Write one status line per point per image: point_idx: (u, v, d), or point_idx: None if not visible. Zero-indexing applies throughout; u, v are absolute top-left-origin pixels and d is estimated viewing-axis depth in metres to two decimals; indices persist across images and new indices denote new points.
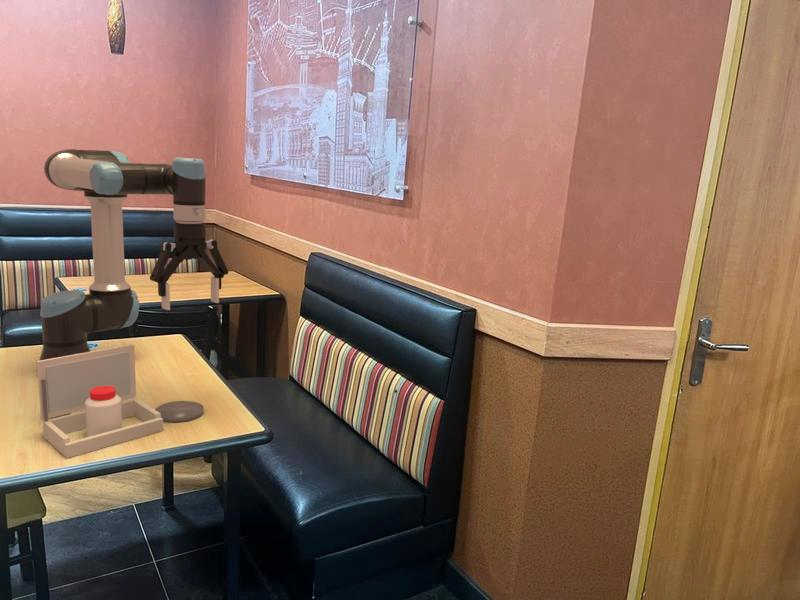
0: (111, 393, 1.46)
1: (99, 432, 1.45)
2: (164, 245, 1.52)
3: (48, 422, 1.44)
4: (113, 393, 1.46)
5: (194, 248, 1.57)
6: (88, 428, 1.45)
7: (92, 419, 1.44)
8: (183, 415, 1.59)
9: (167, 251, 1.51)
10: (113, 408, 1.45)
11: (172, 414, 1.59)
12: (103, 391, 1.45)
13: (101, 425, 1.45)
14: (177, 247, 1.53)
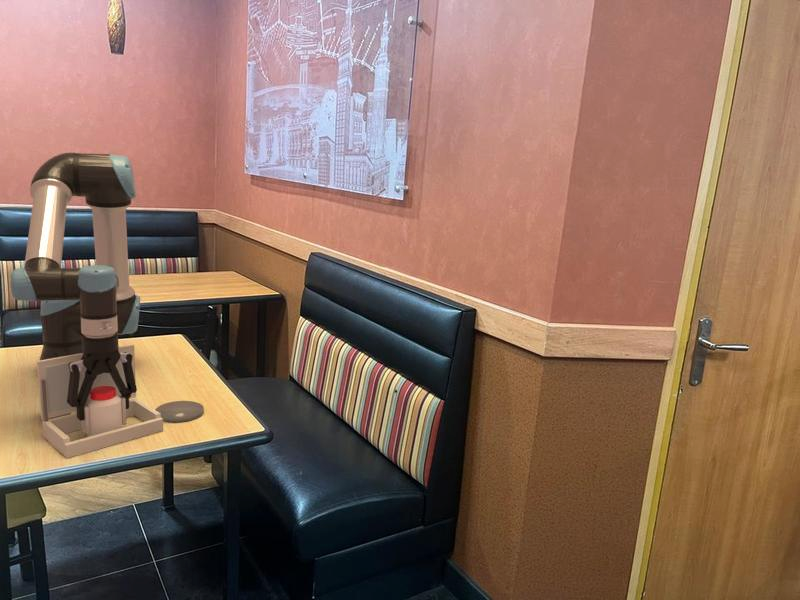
0: (111, 393, 1.46)
1: (99, 432, 1.45)
2: (70, 367, 1.40)
3: (48, 422, 1.44)
4: (113, 393, 1.46)
5: (105, 361, 1.45)
6: None
7: (92, 418, 1.44)
8: (183, 415, 1.59)
9: (75, 373, 1.40)
10: (113, 408, 1.45)
11: (172, 414, 1.59)
12: (103, 391, 1.45)
13: (101, 425, 1.45)
14: (85, 364, 1.42)
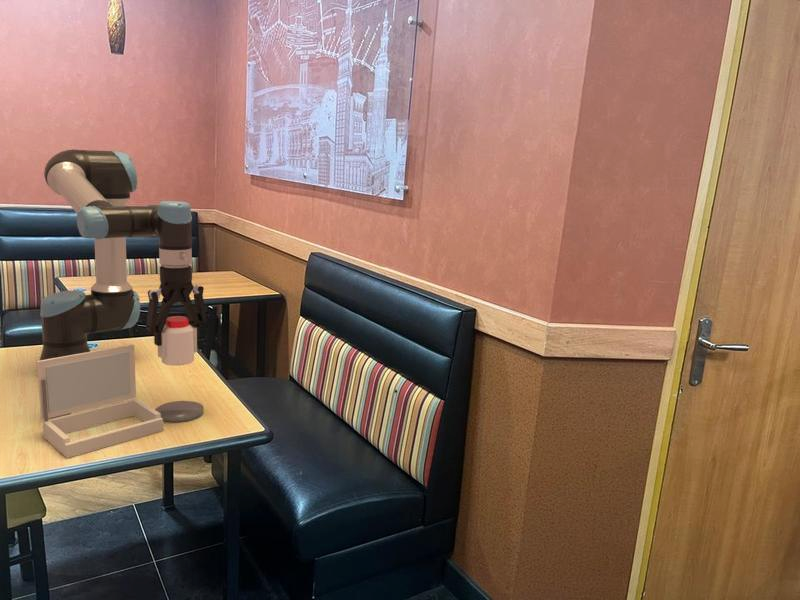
0: (185, 321, 1.56)
1: (174, 357, 1.55)
2: (150, 294, 1.51)
3: (48, 422, 1.44)
4: (187, 321, 1.57)
5: (180, 290, 1.55)
6: None
7: (168, 344, 1.55)
8: (183, 415, 1.59)
9: (154, 300, 1.51)
10: (187, 335, 1.56)
11: (172, 414, 1.59)
12: (178, 320, 1.56)
13: (177, 351, 1.55)
14: (163, 292, 1.52)
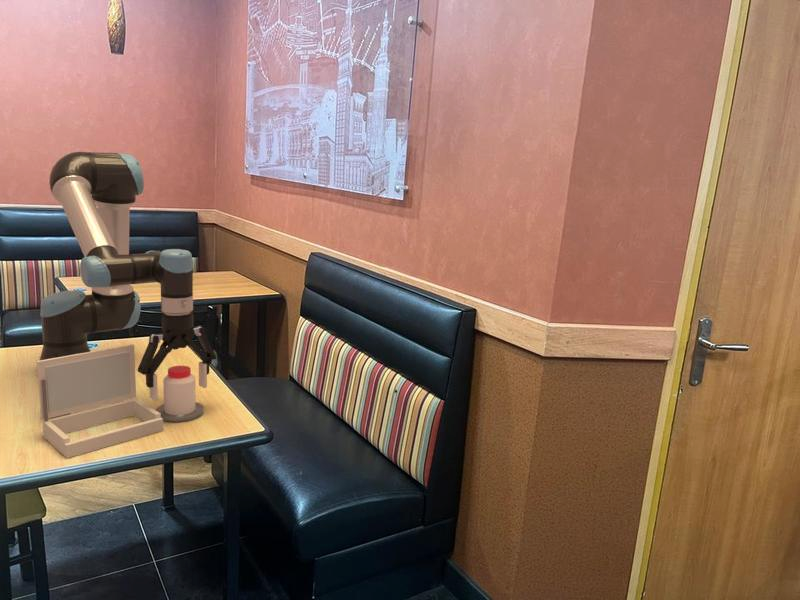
0: (187, 372, 1.59)
1: (176, 407, 1.59)
2: (151, 337, 1.53)
3: (48, 422, 1.44)
4: (189, 372, 1.60)
5: (182, 337, 1.58)
6: (166, 403, 1.59)
7: (170, 395, 1.58)
8: (183, 415, 1.59)
9: (154, 344, 1.53)
10: (189, 385, 1.59)
11: None
12: (180, 370, 1.59)
13: (179, 401, 1.58)
14: (165, 338, 1.55)
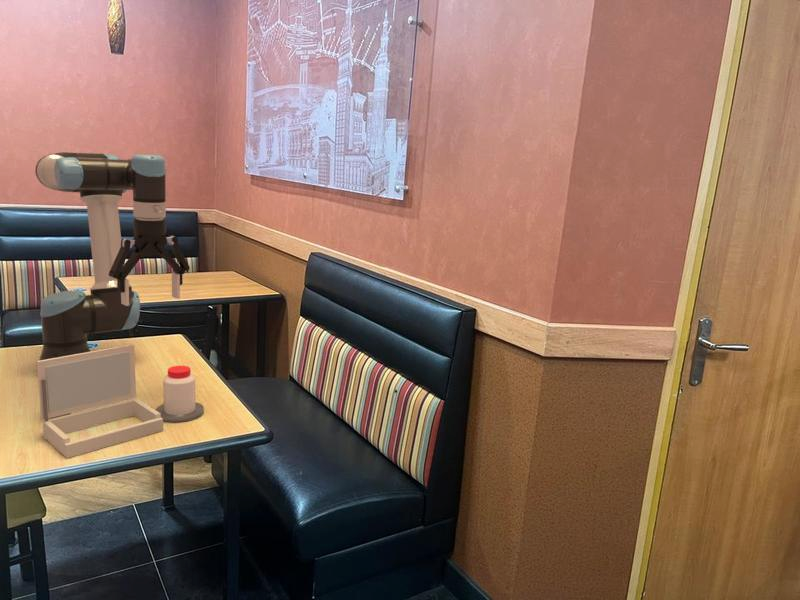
0: (187, 372, 1.59)
1: (176, 407, 1.59)
2: (123, 241, 1.53)
3: (48, 422, 1.44)
4: (189, 372, 1.60)
5: (154, 244, 1.58)
6: (166, 403, 1.59)
7: (170, 395, 1.58)
8: (183, 415, 1.59)
9: (126, 248, 1.53)
10: (189, 385, 1.59)
11: None
12: (180, 370, 1.59)
13: (179, 401, 1.58)
14: (136, 244, 1.55)
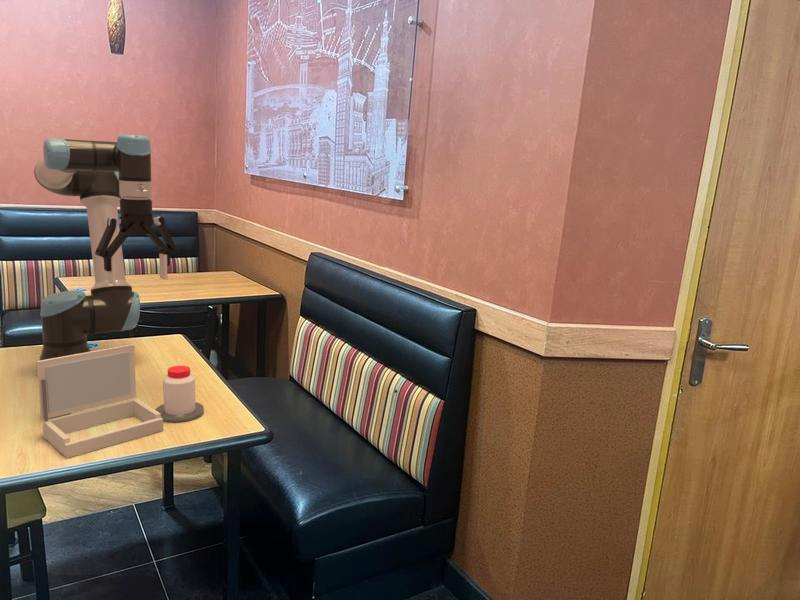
0: (187, 372, 1.59)
1: (176, 407, 1.59)
2: (109, 220, 1.54)
3: (48, 422, 1.44)
4: (188, 372, 1.60)
5: (140, 224, 1.59)
6: (166, 403, 1.59)
7: (170, 395, 1.58)
8: (183, 415, 1.59)
9: (111, 226, 1.54)
10: (189, 385, 1.59)
11: None
12: (180, 370, 1.59)
13: (178, 401, 1.58)
14: (122, 223, 1.56)
